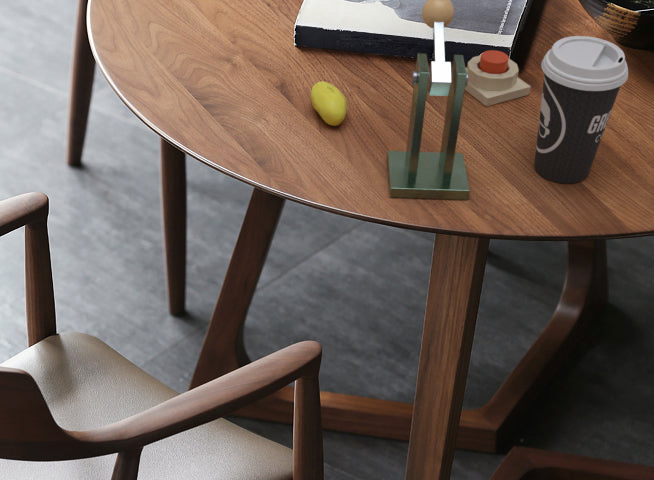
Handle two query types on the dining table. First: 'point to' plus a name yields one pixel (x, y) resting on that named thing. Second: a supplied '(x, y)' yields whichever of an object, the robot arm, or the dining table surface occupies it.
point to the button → (493, 62)
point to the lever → (438, 45)
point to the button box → (494, 83)
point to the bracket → (431, 167)
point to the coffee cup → (576, 105)
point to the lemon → (329, 103)
